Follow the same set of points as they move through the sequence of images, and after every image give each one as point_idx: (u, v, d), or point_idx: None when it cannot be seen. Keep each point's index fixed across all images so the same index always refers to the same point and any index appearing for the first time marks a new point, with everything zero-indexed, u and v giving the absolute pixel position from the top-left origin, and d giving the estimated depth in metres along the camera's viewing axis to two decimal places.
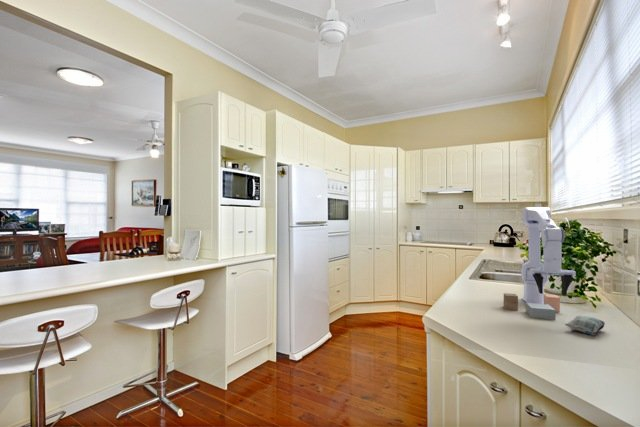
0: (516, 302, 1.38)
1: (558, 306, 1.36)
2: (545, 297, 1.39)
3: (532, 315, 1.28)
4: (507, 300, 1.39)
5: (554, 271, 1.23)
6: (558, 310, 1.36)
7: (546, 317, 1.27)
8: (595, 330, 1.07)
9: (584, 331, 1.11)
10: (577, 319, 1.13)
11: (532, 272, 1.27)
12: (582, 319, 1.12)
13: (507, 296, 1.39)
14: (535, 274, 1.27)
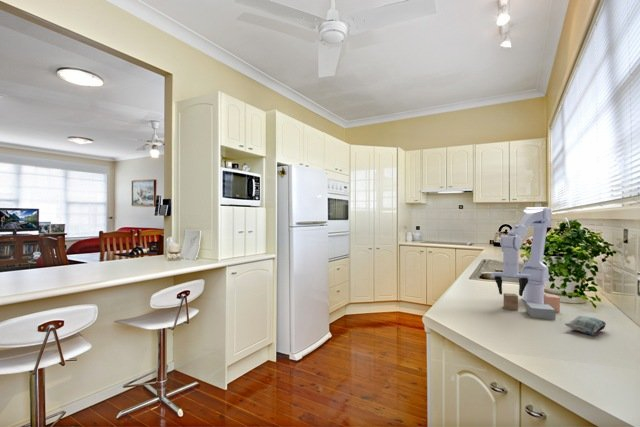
0: (516, 302, 1.38)
1: (558, 306, 1.36)
2: (545, 297, 1.39)
3: (532, 315, 1.29)
4: (507, 300, 1.39)
5: (511, 274, 1.37)
6: (558, 310, 1.36)
7: (546, 317, 1.27)
8: (595, 330, 1.07)
9: (584, 331, 1.10)
10: (577, 319, 1.13)
11: (493, 275, 1.42)
12: (582, 320, 1.12)
13: (507, 296, 1.39)
14: (495, 277, 1.41)
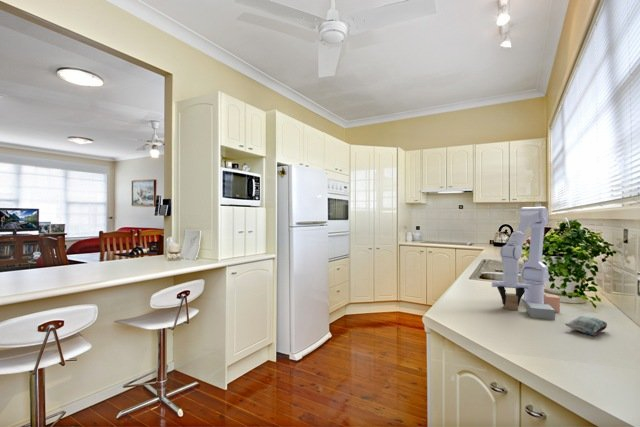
0: (516, 302, 1.38)
1: (558, 306, 1.36)
2: (545, 297, 1.39)
3: (531, 315, 1.29)
4: (507, 300, 1.39)
5: (511, 284, 1.37)
6: (558, 310, 1.36)
7: (545, 317, 1.27)
8: (595, 330, 1.07)
9: (584, 331, 1.10)
10: (578, 319, 1.13)
11: (493, 285, 1.42)
12: (583, 320, 1.11)
13: (507, 296, 1.39)
14: None
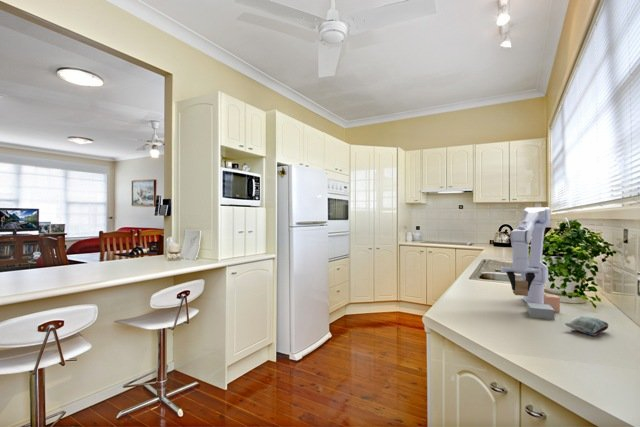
0: (526, 287, 1.34)
1: (558, 306, 1.36)
2: (545, 297, 1.39)
3: (531, 315, 1.29)
4: (517, 285, 1.36)
5: (521, 269, 1.34)
6: (558, 310, 1.36)
7: (545, 317, 1.27)
8: (594, 330, 1.07)
9: (584, 331, 1.10)
10: (578, 319, 1.13)
11: (502, 270, 1.38)
12: (583, 320, 1.11)
13: (517, 281, 1.36)
14: None
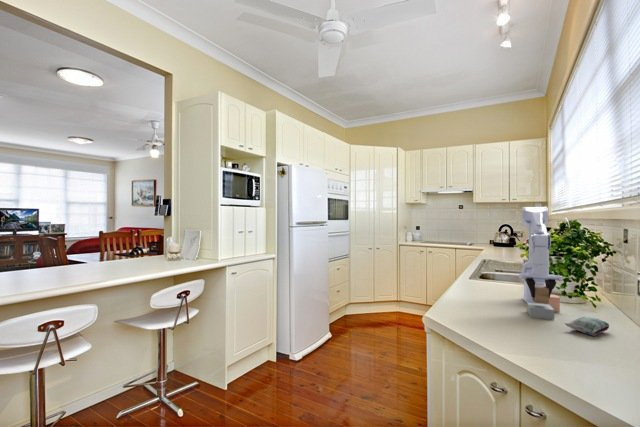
0: (547, 295, 1.28)
1: (558, 306, 1.36)
2: None
3: (531, 315, 1.29)
4: (537, 293, 1.29)
5: (542, 276, 1.28)
6: (558, 310, 1.36)
7: (545, 317, 1.27)
8: (594, 330, 1.07)
9: (584, 331, 1.10)
10: (578, 319, 1.13)
11: (521, 277, 1.32)
12: (583, 320, 1.11)
13: (537, 288, 1.29)
14: (524, 279, 1.32)
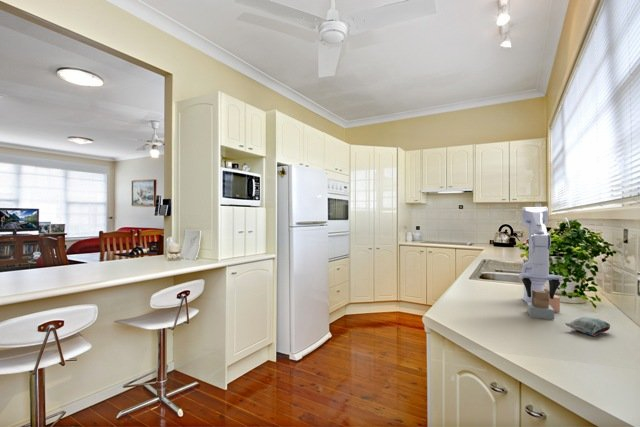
0: (547, 299, 1.28)
1: (558, 306, 1.36)
2: None
3: (530, 315, 1.29)
4: (537, 297, 1.29)
5: (542, 276, 1.28)
6: (558, 310, 1.36)
7: (545, 317, 1.27)
8: (594, 331, 1.07)
9: (584, 331, 1.10)
10: (578, 319, 1.12)
11: (521, 277, 1.32)
12: (583, 320, 1.11)
13: (537, 293, 1.29)
14: (524, 279, 1.32)
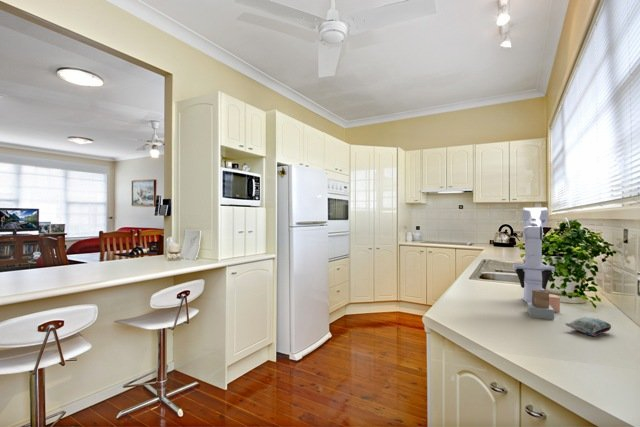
0: (547, 299, 1.28)
1: (558, 306, 1.36)
2: None
3: (530, 314, 1.29)
4: (537, 297, 1.29)
5: (534, 266, 1.31)
6: (558, 310, 1.36)
7: (544, 317, 1.27)
8: (594, 331, 1.07)
9: (584, 332, 1.10)
10: (579, 319, 1.12)
11: (514, 268, 1.35)
12: (583, 320, 1.11)
13: (537, 292, 1.29)
14: (517, 269, 1.35)
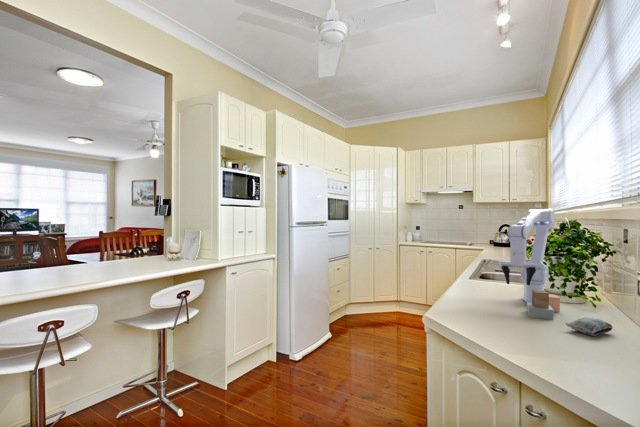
0: (547, 299, 1.28)
1: (558, 306, 1.36)
2: None
3: (530, 315, 1.29)
4: (537, 297, 1.29)
5: (519, 264, 1.37)
6: (558, 310, 1.36)
7: (544, 317, 1.27)
8: (593, 331, 1.06)
9: (584, 332, 1.10)
10: (579, 320, 1.12)
11: (500, 265, 1.42)
12: (583, 320, 1.11)
13: (537, 293, 1.29)
14: (503, 267, 1.41)
